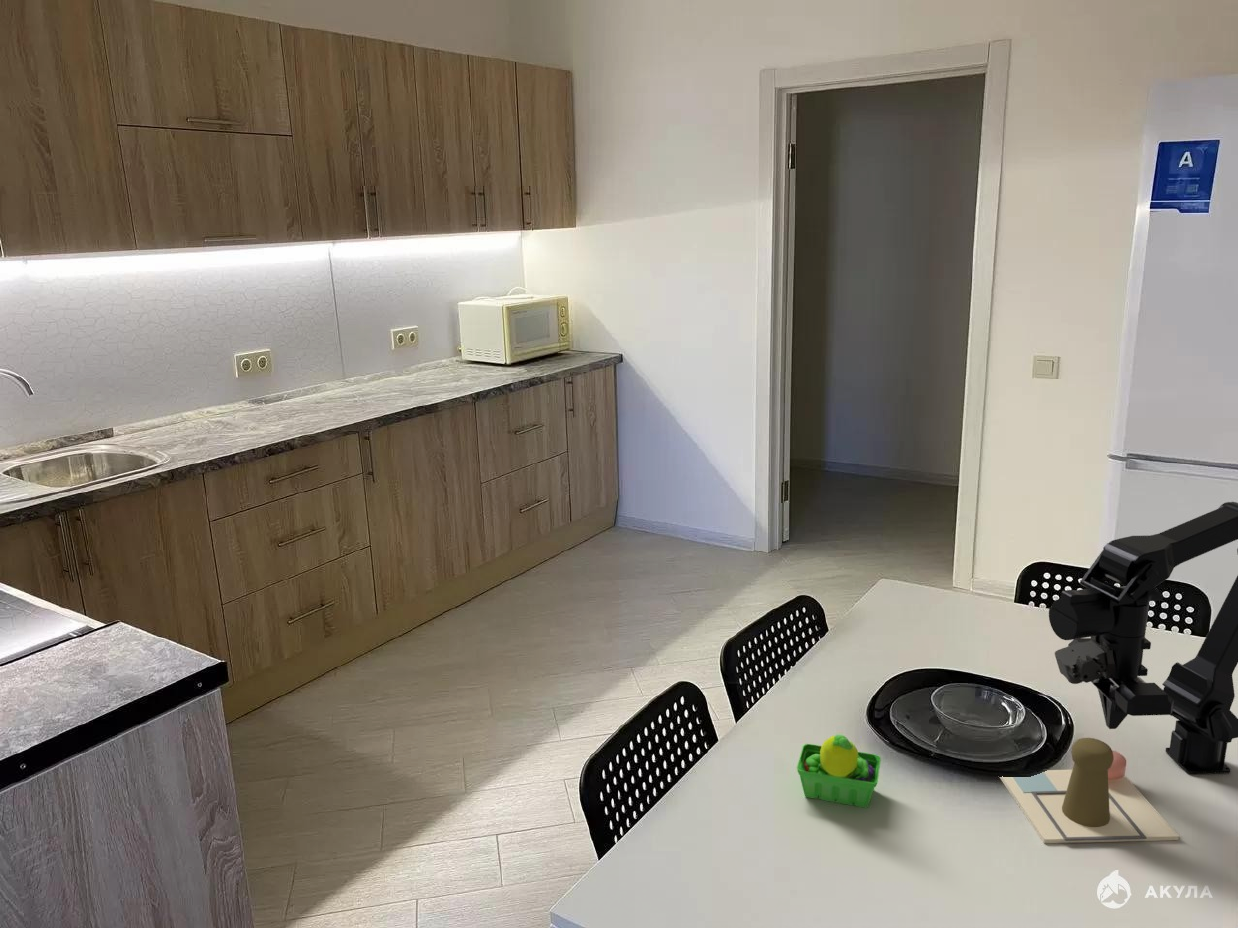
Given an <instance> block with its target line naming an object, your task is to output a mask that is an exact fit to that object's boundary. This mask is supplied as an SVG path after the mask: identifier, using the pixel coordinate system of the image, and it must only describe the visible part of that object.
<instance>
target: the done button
mask: <svg viewBox="0 0 1238 928" xmlns="http://www.w3.org/2000/svg"><path fill="white" fill-rule="evenodd" d="M1112 752H1113V756H1114V760H1113V763H1112V765H1111V767H1110V768H1109V769H1108V779H1120V778H1122V777H1124V775H1125V776H1126V769H1127V768H1126V767H1127V759H1126V757H1125V756H1124V755H1123V754H1121V753H1120V752H1118V751H1116V750H1113V749H1112Z"/></svg>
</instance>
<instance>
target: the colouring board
mask: <svg viewBox="0 0 1238 928" xmlns="http://www.w3.org/2000/svg"><path fill="white" fill-rule="evenodd" d="M1046 770H1047V771H1045V772H1042V773H1040V774H1037V775H1034V776H1031V777H1003V776H1002V777H999V779H1000V780H1001V782H1002V783H1003V785H1004V786H1005V787H1006V790H1007V791H1008V792H1009V794H1010V795H1011V797H1012V798H1013V799H1014V801H1015V802H1016V804H1017V805H1018V807H1019V808H1020V810H1021V811H1022V813H1023V814H1024V816H1025V817H1026V818H1027V820H1028V822H1029V823H1030V825H1031V826H1032V828H1033V829H1034V831H1035V832H1036V834H1037V836H1039V839H1040V840H1041V842H1042V843H1043V844H1067V843H1068V844H1069V843H1071V844H1073V843H1102V842H1103V843H1107V842H1109V843H1110V842H1112V843H1113V842H1116V843H1117V842H1150V841H1152V842H1153V841H1155V842H1156V841H1157V842H1159V841H1179V839H1180V835H1178V833H1177V832H1176V831H1175V830H1174V828H1173V827H1172V826H1171V825H1170V824H1169V823H1168V822H1167V821H1166V819H1165V818H1163V816H1162V815H1161V814H1160V813H1159V811H1157V810H1156V809H1155V807H1154V806H1153V805H1152V804H1151V803H1150V802H1149V800H1147V799H1146V797H1145V796H1144V794H1142V793H1141V792H1140V791H1139V790H1138V788H1137V787H1136V786H1135V785H1134V784H1133V783H1132V782H1131V780H1130V779H1129V778H1128V777H1127V776H1126V774H1125V775H1124V777H1122V778H1120V779H1108V788H1109V811H1110V820H1109V823H1108V824H1106V825H1105V826H1101V827H1089V826H1083V825H1080V824H1077V823H1075V822H1073V821H1071V820H1070V819H1069V818H1067V817H1066V816H1065V815H1064V813H1063V812H1062V805H1063V802H1064V798H1065V795H1066V791H1067V787H1068V784H1069V780H1070V777H1071V773H1072V770H1073V769H1046Z"/></svg>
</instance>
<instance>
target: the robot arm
mask: <svg viewBox="0 0 1238 928" xmlns="http://www.w3.org/2000/svg"><path fill="white" fill-rule="evenodd" d="M1237 540H1238V502H1235V501H1227V502H1224V503H1222V504H1221V505H1219V507H1218V508H1216V509H1214V510H1211V511H1210V512H1207V513H1205V514H1202V515H1199V516H1197V517H1195V518H1192V519H1190V520H1188V521H1185V522H1182V523H1180V524H1178V525H1176V526H1173V527H1170V528H1169V529H1166V530H1164V531H1162V532H1159V533H1156V534H1155V533H1154V534H1151V535H1130V536H1126V537H1121V538H1117V539H1113V540H1111V541H1109V542H1107V543H1106V544H1105V545H1104V546H1103V549H1102V550H1101V551H1100V553H1099V555H1098V556H1097V558H1096V559H1095V560H1094V561H1093V563H1092V564H1091V565H1090V567H1089V568H1088V570H1087V571H1086V572H1085V574H1084V576H1083V577H1082V578H1081V579H1080V581H1079V584H1080V585H1081V586H1083V587H1085V588H1082V589H1076V590H1075V589H1074V590H1073V589H1066V590H1065V589H1064V590H1062V591H1061V596H1060V598H1057V599H1056V600H1053V603H1052V604H1051V606H1050V607H1049V609H1048V618H1049V619H1048V620H1049V624H1050V627H1051V630H1052V631H1053V632H1054V634H1055V636H1057V637H1058V638H1059V639H1061V640H1063V641H1071V642H1069V643H1068V646H1065V647H1062V648H1060V649H1057V650H1055V652H1054V656H1055V660H1056V663H1057V667H1058V670H1059V673H1060V674H1061V675H1063V676H1064V677H1065V678H1066V680H1067V681H1068V682H1069V683H1070V684H1073V685H1077V684H1082V683H1086V684H1087V683H1090V682H1091V683H1092V684H1093V686H1095V688H1096V689H1097V692H1098V694H1099V699H1100V703H1101V708H1102V712H1103V716H1104V721H1105V725H1106V727H1107V728H1108V729H1109V730H1116V729H1118V727H1119V726H1120V725H1121V724H1122V722H1124V720H1125V719H1126V718H1127V716H1128V715H1130V716H1132V717H1136V716H1137V717H1139V716H1141V717H1143V716H1145V717H1146V716H1171V717H1173V718H1175V719H1176V720H1175V726H1174V730H1172V731H1171V735H1170V744H1169V747H1166V748H1165V753H1166V754H1167V755H1168V756H1169V757H1170V758H1171V759H1172V760H1173V761H1174V762H1176V763H1177V764H1178V766H1180V767H1181V768H1182V769H1183V771H1185V772H1186V773H1187V774H1189V775H1200V774H1202V775H1203V774H1230V773H1231V771H1232V769H1231V768H1230V766H1229V765H1227V764H1226V763H1225V762H1226V754H1227V750H1228V749H1227V747H1228V743H1232V740H1233V739H1236V738H1237V739H1238V717H1237V716H1236V715H1235V713H1233V712H1232V711H1231V708H1232V705H1233V702H1234V701H1235V700H1234V699H1235V697H1236V696H1235V687H1234V680H1233V673H1234V670H1236V668H1237V666H1238V575H1237V576H1236V577H1235V580H1234V582H1233V583H1232V585H1231V587H1230V590H1229V591H1228V593H1227V595H1226V598H1225V600H1224V601H1223V603H1222V605H1221V607H1220V609H1219V611H1218V613H1217V615H1216V617H1215V618H1214V620H1213V622H1212V624H1211V626H1210V628H1209V631H1208V633H1207V634H1206V636H1205V638H1204V640H1203V642H1202V644H1201V646H1200V648H1199V650H1198V652H1197V653H1196V655H1195V657H1194V658H1193V659H1191V660H1188V661H1187V662H1185V663H1183V664H1182V663H1180V662H1175V663H1174V664H1173V665H1172V666H1171V670H1170V672H1169V674H1168V676H1167V678H1166V679H1165V681H1164V682H1163V683H1162V686H1164V687H1163V689H1162V688H1161V686H1159V685H1158V684H1157V683H1155V682H1146V681H1145V680H1143V679H1142V678H1141V677H1147V676H1148V670H1149V669H1148V668H1147V667H1146V666H1145V665H1144V664H1142V663H1143V655H1144V650H1151V647H1152V642H1151V641H1150V640H1148V639H1147V638H1146V632H1147V625H1148V624H1147V622H1148V615H1149V606H1150V602H1153V601H1161V600H1163V598H1164V594H1162V593H1161V592H1160V591H1159V590H1158V589H1156V587H1157V586H1158V585H1160V584H1161V583H1163V582H1165V581H1166V580H1168V579H1169V578H1170V577H1171V574H1172V573H1173V571H1174V568H1176V567H1177V566H1179V565H1181V564H1183V563H1185V562H1188V561H1191V560H1193V559H1195V558H1197V557H1199V556H1202V555H1205V554H1207V553H1209V552H1212V551H1213V550H1216V549H1219V548H1220V547H1223V546H1225V545H1227V544H1229V543H1233V542H1236V541H1237ZM1236 551H1237V554H1238V548H1237V550H1236ZM1105 577H1106V578H1108V579H1111V580H1113V581H1114V582H1116V583H1119V584H1121V585H1123V586H1117V585H1115V584H1113V583H1111V582H1109V581H1107V580H1105V579H1104V578H1105Z"/></svg>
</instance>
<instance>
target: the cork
mask: <svg viewBox="0 0 1238 928" xmlns="http://www.w3.org/2000/svg"><path fill="white" fill-rule="evenodd" d="M1112 750H1113V749H1112V748H1111V746H1110V745H1109V744H1107V743H1106V742H1104V741H1102V740H1101V739H1098V738H1093V737H1082V738H1078V739H1077V740H1075V742H1073V744H1072V747H1071V750H1070V754H1071V758H1072V761H1073V766H1072V769H1071V770H1072V773H1071V777H1070V780H1069V784H1068V787H1067V791H1066V795H1065V798H1064V802H1063V805H1062V812H1063V813H1064V815H1065V816H1066V817H1067V818H1069V819H1070V820H1071V821H1073V822H1075V823H1077V824H1080V825H1083V826H1089V827H1101V826H1105V825H1106V824H1108V823H1109V820H1110V811H1109V788H1108V769H1109V768H1110V767H1111V765H1112V763H1113V760H1114V756H1113V752H1112Z"/></svg>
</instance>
